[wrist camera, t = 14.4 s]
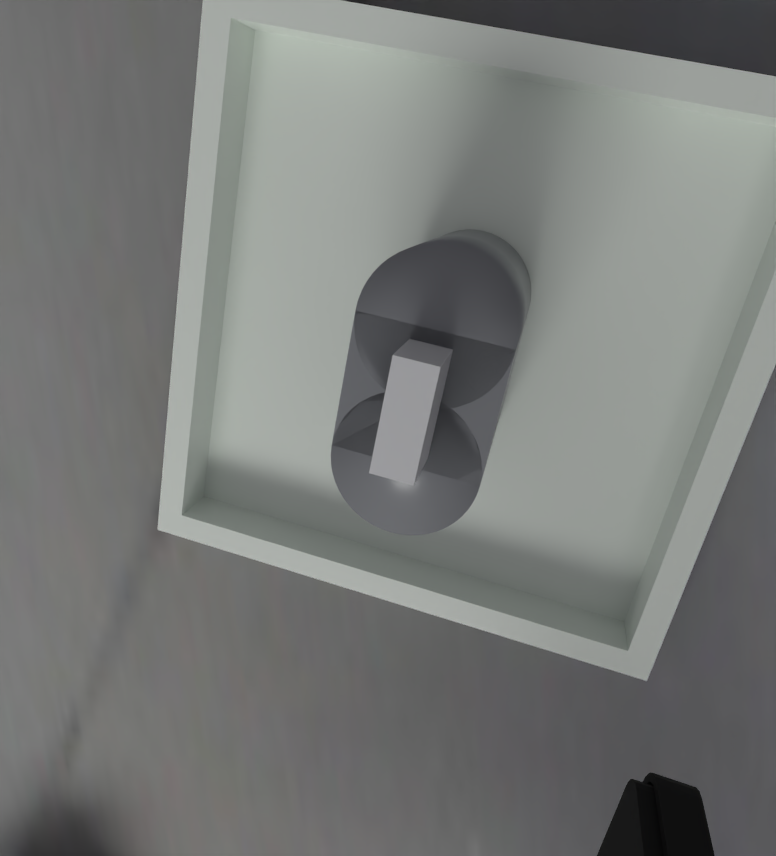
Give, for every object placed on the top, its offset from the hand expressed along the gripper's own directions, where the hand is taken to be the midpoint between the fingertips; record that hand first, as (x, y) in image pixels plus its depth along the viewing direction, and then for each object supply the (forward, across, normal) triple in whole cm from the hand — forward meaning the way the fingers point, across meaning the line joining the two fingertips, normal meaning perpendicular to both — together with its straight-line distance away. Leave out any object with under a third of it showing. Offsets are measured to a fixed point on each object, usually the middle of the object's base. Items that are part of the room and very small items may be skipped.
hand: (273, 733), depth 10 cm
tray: (+19, +1, -2) cm, 19 cm away
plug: (+18, +1, -2) cm, 18 cm away
